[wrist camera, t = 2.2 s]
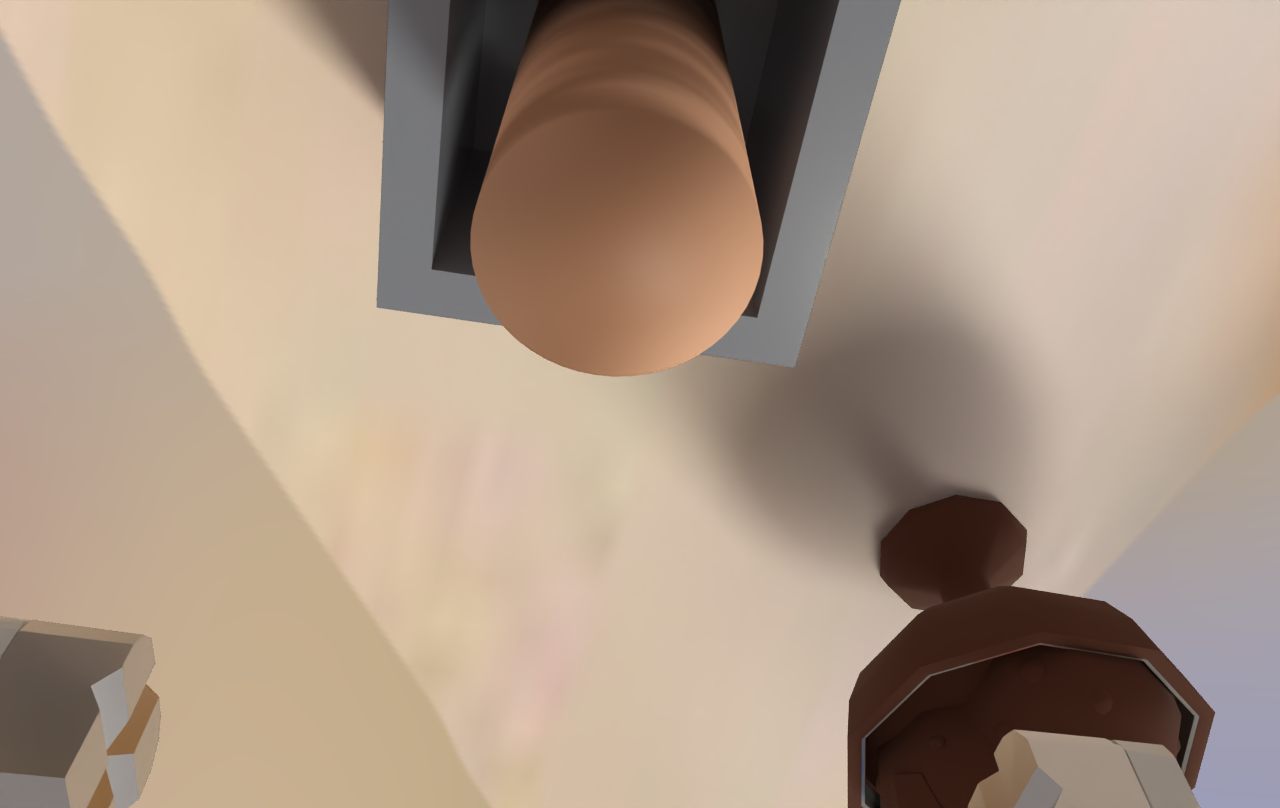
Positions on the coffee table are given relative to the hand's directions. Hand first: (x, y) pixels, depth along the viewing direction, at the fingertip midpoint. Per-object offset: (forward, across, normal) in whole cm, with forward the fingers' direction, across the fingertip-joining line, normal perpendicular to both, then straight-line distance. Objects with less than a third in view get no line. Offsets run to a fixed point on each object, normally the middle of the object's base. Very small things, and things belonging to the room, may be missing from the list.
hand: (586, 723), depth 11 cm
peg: (+23, 0, 0) cm, 23 cm away
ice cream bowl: (+24, -15, +17) cm, 33 cm away
